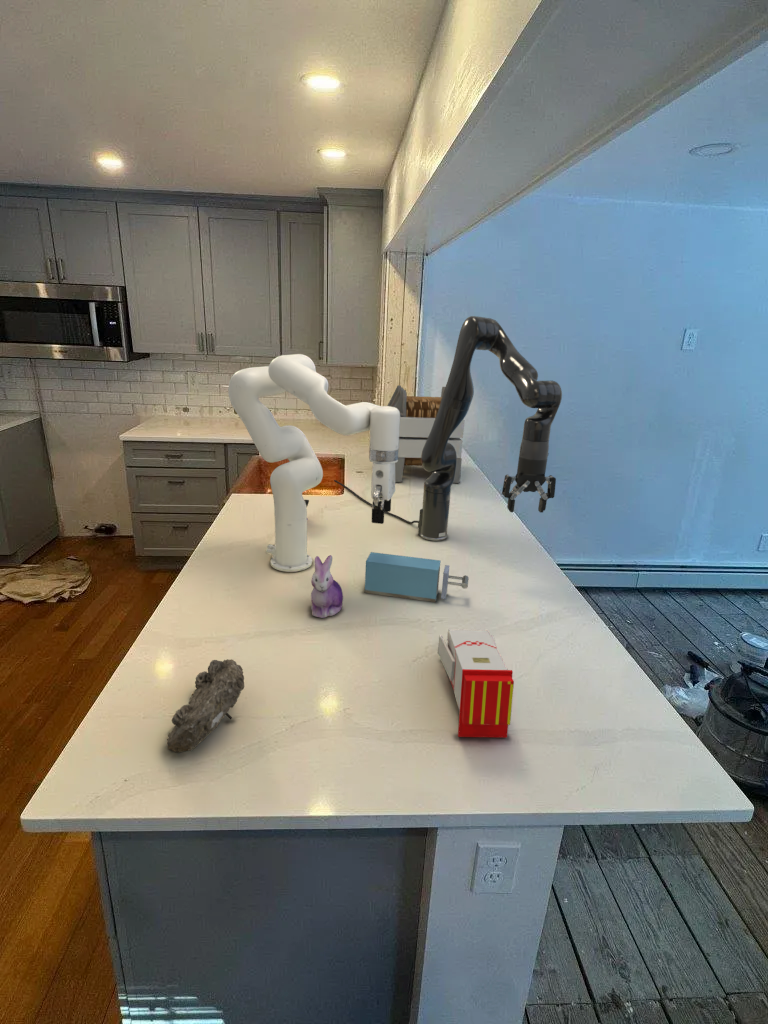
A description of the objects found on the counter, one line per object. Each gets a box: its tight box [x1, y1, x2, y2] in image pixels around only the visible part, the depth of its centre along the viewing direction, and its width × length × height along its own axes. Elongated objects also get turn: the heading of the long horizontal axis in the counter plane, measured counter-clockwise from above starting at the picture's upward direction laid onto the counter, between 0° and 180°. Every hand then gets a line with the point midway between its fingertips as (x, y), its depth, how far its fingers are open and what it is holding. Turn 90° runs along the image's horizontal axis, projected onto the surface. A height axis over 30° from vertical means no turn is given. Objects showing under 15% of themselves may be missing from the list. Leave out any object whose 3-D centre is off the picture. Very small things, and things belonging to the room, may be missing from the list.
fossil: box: [166, 658, 245, 754], centre depth 106 cm, size 22×10×15 cm
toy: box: [437, 628, 515, 738], centre depth 117 cm, size 12×13×30 cm
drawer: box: [436, 564, 470, 600], centre depth 156 cm, size 24×5×8 cm, turn 79°
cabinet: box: [364, 551, 442, 603], centre depth 157 cm, size 20×6×10 cm, turn 79°
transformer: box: [386, 384, 465, 484], centre depth 268 cm, size 34×33×41 cm
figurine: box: [310, 554, 344, 618], centre depth 145 cm, size 9×10×15 cm
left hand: (381, 516), depth 153 cm, fingers open, 9 cm apart
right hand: (525, 511), depth 159 cm, fingers open, 8 cm apart
